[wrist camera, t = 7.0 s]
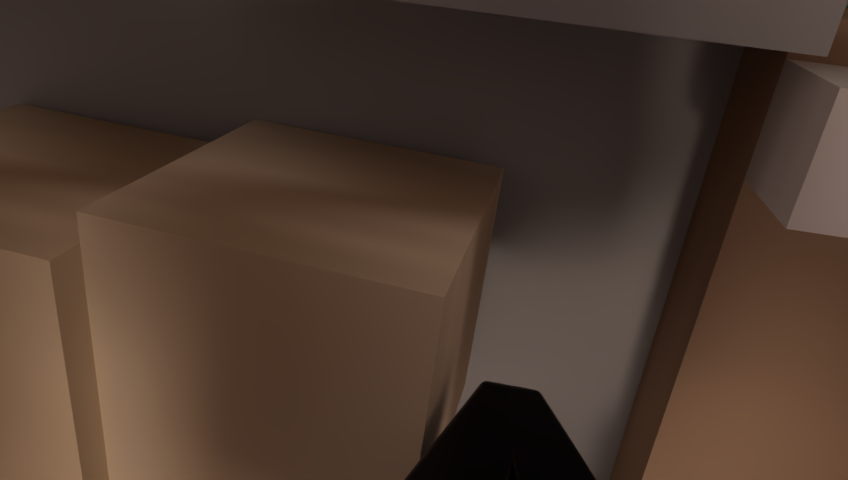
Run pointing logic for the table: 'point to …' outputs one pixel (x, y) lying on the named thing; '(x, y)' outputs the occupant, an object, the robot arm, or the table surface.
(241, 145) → the brown wooden cube
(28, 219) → the light brown cube
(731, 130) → the slot board
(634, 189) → the tray
